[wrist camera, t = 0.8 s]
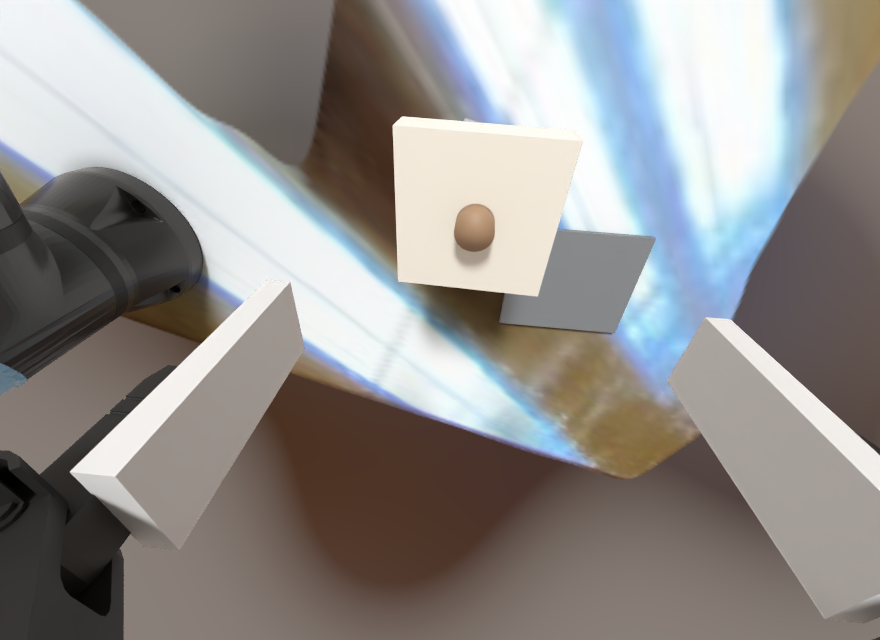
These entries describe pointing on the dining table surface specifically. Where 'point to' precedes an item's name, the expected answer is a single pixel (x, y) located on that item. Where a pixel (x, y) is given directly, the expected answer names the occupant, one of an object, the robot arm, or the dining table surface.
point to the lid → (479, 202)
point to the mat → (583, 282)
